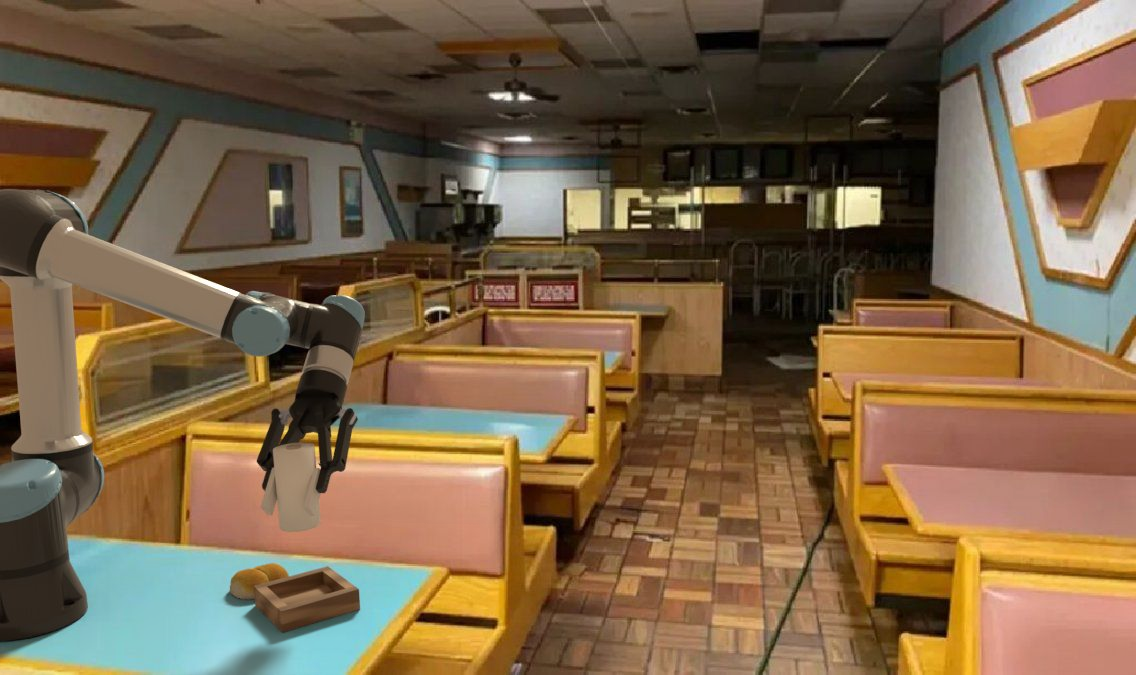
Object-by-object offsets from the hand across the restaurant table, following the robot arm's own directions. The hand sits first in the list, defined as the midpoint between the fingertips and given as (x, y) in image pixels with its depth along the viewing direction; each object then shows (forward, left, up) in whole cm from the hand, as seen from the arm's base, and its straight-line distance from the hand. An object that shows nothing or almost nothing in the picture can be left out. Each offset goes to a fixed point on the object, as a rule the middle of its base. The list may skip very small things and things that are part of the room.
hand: (287, 511), depth 136 cm
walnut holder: (-3, +3, -17) cm, 17 cm away
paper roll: (-3, +3, -3) cm, 5 cm away
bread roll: (-15, -1, -17) cm, 23 cm away
